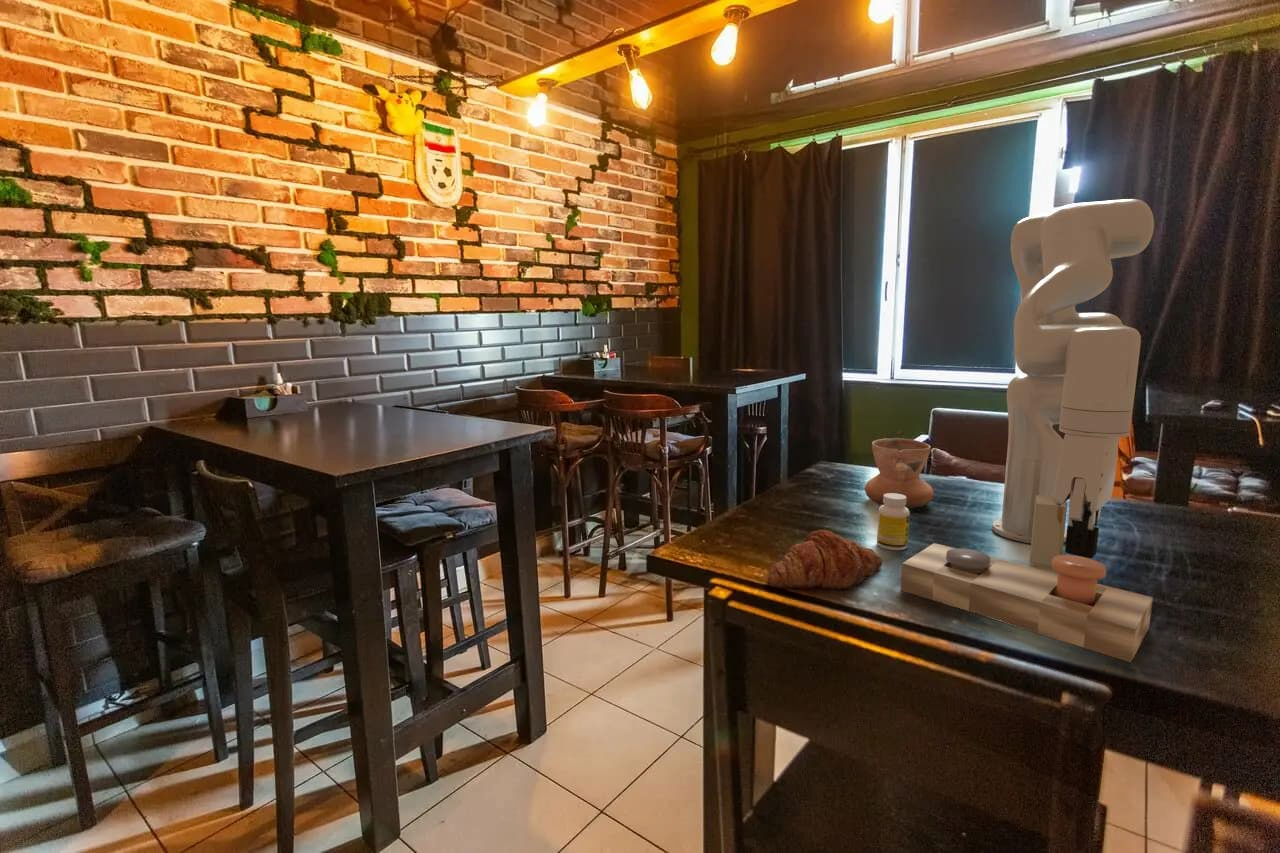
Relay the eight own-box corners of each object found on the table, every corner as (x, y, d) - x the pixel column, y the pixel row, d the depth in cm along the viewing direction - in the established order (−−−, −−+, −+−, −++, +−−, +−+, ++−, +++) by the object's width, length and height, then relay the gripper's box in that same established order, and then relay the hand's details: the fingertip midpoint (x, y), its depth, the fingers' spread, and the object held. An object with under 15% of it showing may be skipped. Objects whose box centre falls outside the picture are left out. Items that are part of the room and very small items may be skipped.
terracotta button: (1055, 587, 89) (1059, 551, 88) (1106, 600, 84) (1110, 563, 83) (1043, 601, 85) (1046, 563, 84) (1095, 615, 80) (1100, 576, 79)
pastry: (861, 609, 92) (863, 558, 90) (763, 587, 100) (764, 541, 98) (882, 568, 106) (885, 524, 104) (795, 552, 114) (796, 511, 112)
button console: (932, 567, 105) (934, 543, 104) (1148, 628, 84) (1152, 597, 83) (900, 589, 97) (902, 563, 96) (1130, 662, 76) (1135, 629, 75)
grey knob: (953, 577, 99) (955, 545, 98) (993, 588, 95) (996, 555, 94) (937, 589, 95) (940, 555, 94) (979, 601, 91) (982, 566, 90)
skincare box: (1060, 579, 99) (1068, 507, 97) (1029, 574, 101) (1035, 503, 99) (1058, 565, 104) (1066, 497, 102) (1029, 560, 107) (1035, 493, 105)
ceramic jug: (936, 518, 129) (940, 453, 127) (863, 512, 135) (866, 449, 132) (929, 494, 146) (933, 436, 143) (865, 490, 151) (867, 433, 149)
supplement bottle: (910, 552, 112) (913, 500, 110) (879, 550, 113) (881, 499, 111) (904, 541, 117) (906, 492, 115) (874, 540, 118) (876, 491, 116)
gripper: (1075, 412, 88) (1062, 534, 91) (1044, 426, 78) (1031, 562, 81) (1141, 417, 82) (1126, 547, 85) (1117, 433, 72) (1100, 578, 75)
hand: (1080, 554), depth 83 cm, fingers closed
